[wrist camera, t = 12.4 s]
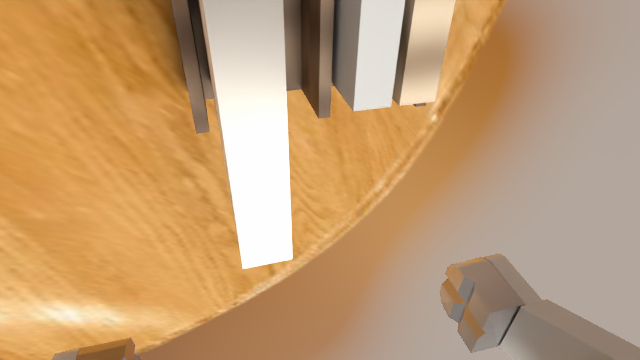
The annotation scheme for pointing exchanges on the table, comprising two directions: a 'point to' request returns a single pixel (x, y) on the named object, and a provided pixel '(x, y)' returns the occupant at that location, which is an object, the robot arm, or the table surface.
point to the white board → (252, 121)
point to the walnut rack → (300, 54)
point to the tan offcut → (421, 50)
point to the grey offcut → (366, 51)
